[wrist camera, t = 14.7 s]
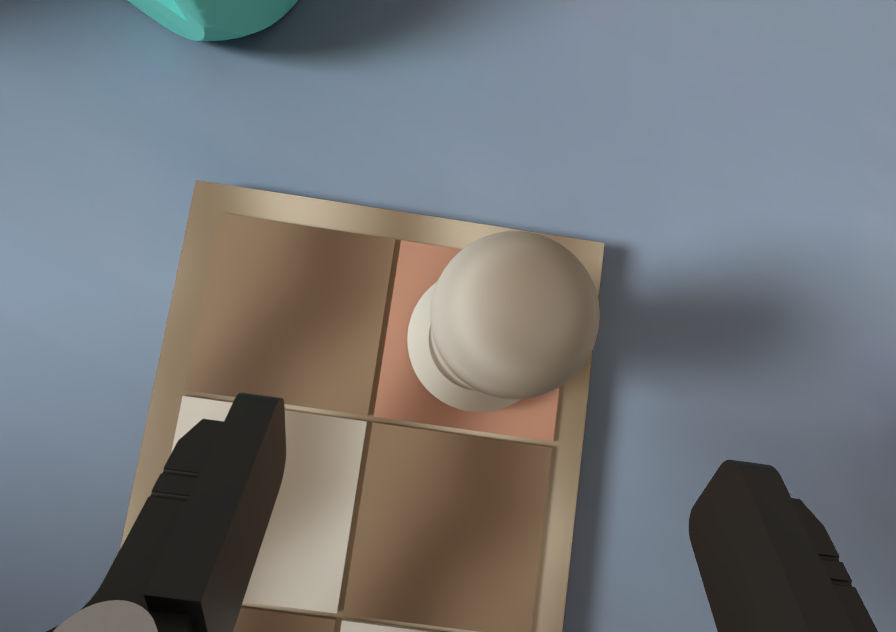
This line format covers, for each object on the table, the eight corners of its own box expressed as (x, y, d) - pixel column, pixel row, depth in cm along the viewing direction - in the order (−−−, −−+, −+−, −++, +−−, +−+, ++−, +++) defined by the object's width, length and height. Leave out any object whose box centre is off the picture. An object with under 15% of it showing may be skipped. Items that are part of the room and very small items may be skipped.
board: (36, 1033, 19) (6, 1085, 17) (207, 191, 22) (194, 178, 21) (502, 1079, 19) (509, 1132, 18) (594, 250, 23) (606, 241, 22)
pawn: (396, 398, 21) (378, 412, 11) (420, 264, 21) (423, 158, 11) (532, 421, 21) (639, 454, 11) (552, 287, 21) (670, 202, 11)
